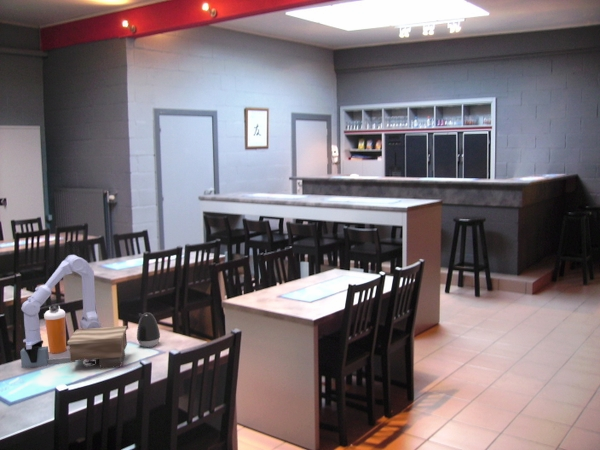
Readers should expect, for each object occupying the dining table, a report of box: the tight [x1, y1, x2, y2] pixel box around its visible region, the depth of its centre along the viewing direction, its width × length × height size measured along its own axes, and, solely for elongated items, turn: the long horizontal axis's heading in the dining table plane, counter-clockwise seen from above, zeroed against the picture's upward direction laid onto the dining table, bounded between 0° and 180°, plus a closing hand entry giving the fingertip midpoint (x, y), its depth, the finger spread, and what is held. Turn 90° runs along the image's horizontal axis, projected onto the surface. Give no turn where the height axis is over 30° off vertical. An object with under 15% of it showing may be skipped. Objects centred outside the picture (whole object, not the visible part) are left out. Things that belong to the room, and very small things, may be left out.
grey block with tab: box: [20, 345, 76, 368], centre depth 262 cm, size 4×21×7 cm, turn 98°
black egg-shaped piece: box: [136, 312, 161, 348], centre depth 281 cm, size 10×10×15 cm
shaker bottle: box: [43, 305, 67, 354], centre depth 278 cm, size 9×9×20 cm
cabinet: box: [66, 325, 128, 369], centre depth 260 cm, size 17×21×13 cm
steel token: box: [82, 359, 97, 367], centre depth 261 cm, size 5×5×2 cm
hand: (35, 360), depth 261 cm, fingers closed on grey block with tab, 4 cm apart
